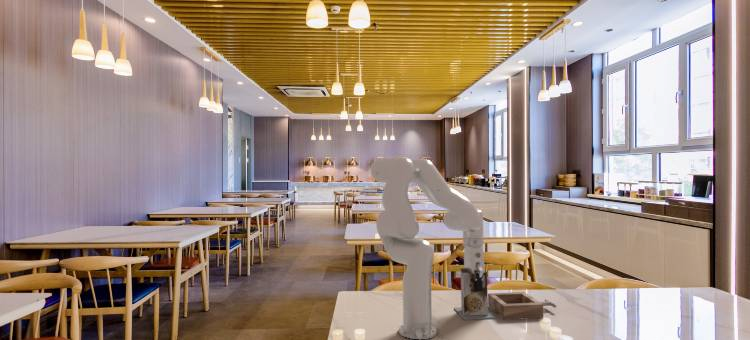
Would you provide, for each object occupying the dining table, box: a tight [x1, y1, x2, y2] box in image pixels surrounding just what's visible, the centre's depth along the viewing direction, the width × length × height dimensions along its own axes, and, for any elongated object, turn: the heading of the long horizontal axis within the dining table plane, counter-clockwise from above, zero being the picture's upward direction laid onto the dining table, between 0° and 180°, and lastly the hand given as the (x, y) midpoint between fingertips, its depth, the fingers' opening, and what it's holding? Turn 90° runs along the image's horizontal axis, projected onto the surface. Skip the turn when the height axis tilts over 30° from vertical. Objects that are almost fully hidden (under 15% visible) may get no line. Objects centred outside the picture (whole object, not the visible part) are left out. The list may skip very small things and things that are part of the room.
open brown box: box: [487, 291, 557, 320], centre depth 153 cm, size 15×23×5 cm, turn 96°
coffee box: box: [460, 267, 489, 315], centre depth 150 cm, size 9×6×16 cm
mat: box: [453, 306, 497, 321], centre depth 151 cm, size 12×12×1 cm
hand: (473, 287), depth 151 cm, fingers open, 9 cm apart
